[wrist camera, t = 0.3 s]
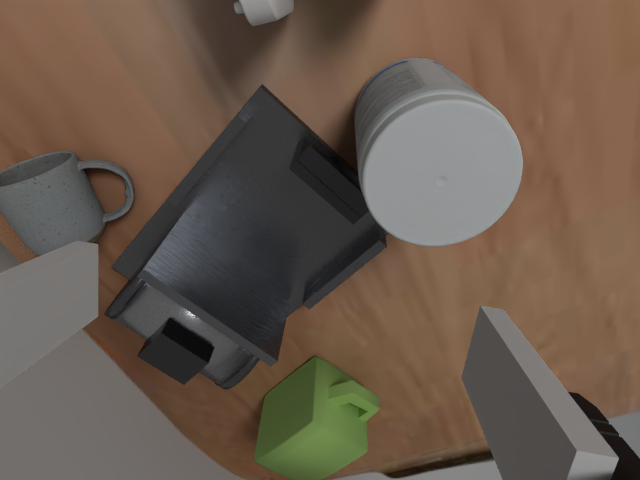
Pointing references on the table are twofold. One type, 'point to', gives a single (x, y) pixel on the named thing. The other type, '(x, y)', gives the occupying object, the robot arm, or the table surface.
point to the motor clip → (244, 247)
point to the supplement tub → (433, 154)
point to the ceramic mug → (56, 200)
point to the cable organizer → (264, 10)
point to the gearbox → (314, 422)
